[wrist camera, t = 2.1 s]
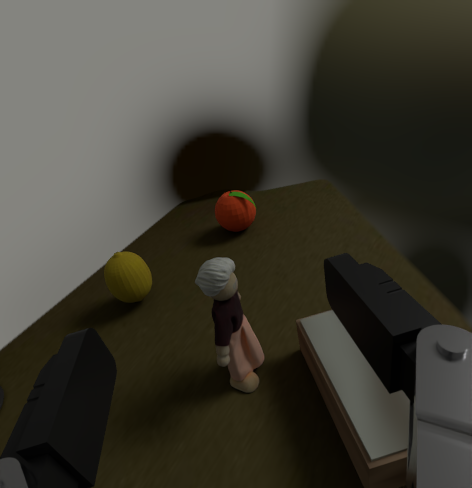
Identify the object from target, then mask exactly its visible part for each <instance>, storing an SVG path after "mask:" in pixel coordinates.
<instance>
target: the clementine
mask: <svg viewBox="0 0 472 488" xmlns="http://www.w3.org/2000/svg"><path fill="white" fill-rule="evenodd" d="M255 207H256V206H255V204H254V202H253V200H252V199H251V197H250V196H248V195H247V194H246V193H244V192H241V191H237V190H234V191H229V192H226V193H225V194H223V195H222V196H221V197H220V198H219V200H218V201H217V204H216V207H215V215H216V219H217V221H218V222H219V224H220V225H221V226H222V227H223V228H225V229H227V230H229V231H233V232H238V231H242V230H244V229H246V228H247V227H249V226H250V225H251V224H252V222H253V220H254V218H255V214H256V208H255Z"/></svg>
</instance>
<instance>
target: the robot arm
mask: <svg viewBox="0 0 472 488" xmlns="http://www.w3.org/2000/svg"><path fill="white" fill-rule="evenodd" d="M324 272H325V282H326V293H327V298H328V301H329V304H330V306H331V308H332V310H333V312H334V313H335V315H336V316H337V317H338V319H339V320H340V322H341V323H342V325H343V326H344V328H345V329H346V331H347V332H348V334H349V335H350V337H351V338H352V340H353V341H354V342H355V344H356V345H357V347H358V348H359V350H360V351H361V353H362V354H363V356H364V357H365V359H366V360H367V362H368V363H369V364H370V366H371V367H372V369H373V370H374V372H375V373H376V375H377V376H378V378H379V379H380V381H381V382H382V384H383V385H384V387H385V388H386V389H387V391H388V392H389V394H391V393H394V392H398V391H401V390H403V392H404V393H405V395H406V396H407V397H408V399H409V418H408V447H407V474H406V488H472V333H470V332H468V331H466V330H464V329H461V328H458V327H455V326H450V325H442V324H441V323H439V322H438V321H437V320H436V319H435V318H434V317H433V316H432V315H431V314H430V313H429V312H427V311H426V310H425V309H424V308H423V307H422V306H421V305H420V304H419V303H418V302H417V301H416V300H414V299H413V298H412V297H411V296H410V295H409V294H408V293H407V292H406V291H405V290H402V288H401V287H400V286H399V285H398V284H397V283H396V282H395V281H394V282H393V279H392V278H391V277H389V276H388V275H387V274H386V273H385V272H384V271H383V270H382V269H380V268H377V267H375V266H373V265H371V264H369V263H364V264H360V265H359V264H358V263H357V262H356V261H355V260H354V259H353V258H352V257H351V256H350V255H349V254H348V253H344V254H341V255H337V256H334V257H331V258H327V259H325V260H324ZM116 373H117V370H116V363H115V360H114V358H113V356H112V354H111V353H110V351H109V350H108V348H107V347H106V345H105V344H104V342H103V341H102V339H101V338H100V336H99V335H98V333H97V332H96V330H95V329H93V328H88V329H85V330H81V331H78V332H75V333H71V334H68V335H66V337H65V338H64V340H63V342H62V345H61V347H60V349H59V352H58V354H56V355H53V356H52V358H51V359H50V360H49V361H48V362H47V364H46V365H45V366H44V367H43V369H42V370H41V371H40V373H39V375H38V378H37V380H36V382H35V384H34V386H33V387H34V389H33V390H32V391H31V393H30V395H29V397H28V399H27V403H26V404H25V406H24V408H23V410H22V412H21V414H20V416H19V419H18V421H17V423H16V425H15V427H14V429H13V431H12V434H11V436H10V438H9V440H8V442H7V444H6V447H5V449H4V451H3V453H2V455H1V457H0V488H91V487H94V484H95V479H96V474H97V469H98V464H99V459H100V455H101V450H102V445H103V440H104V435H105V430H106V425H107V420H108V415H109V410H110V405H111V400H112V395H113V390H114V385H115V380H116ZM3 399H4V392H3V389H2V388H1V386H0V408H1V406H2V404H3Z"/></svg>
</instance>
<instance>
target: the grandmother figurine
mask: <svg viewBox="0 0 472 488" xmlns="http://www.w3.org/2000/svg"><path fill="white" fill-rule="evenodd" d="M234 270H235V265H234V262H233V261H232V260H231V259H229V258H214V259H212V260H208V261H206V262H205V263H204V264H203V265H202V266H201V268H200V269H199V273H198V276H197V278H196V280H195V283H196V284H197V285H199V286H200V289H202V291H203V292H204V294H205V295H207V296H210V297H211V298H213V299H214V303H213V308H212V317H213V321H214V323H215V345H216V352H217V355H218V356H217V363H218V365H219V366H221V367H225V366H227V365H228V369H229V372H230V375H231V378H230V385H231V386H232V387H234V388H236V389H238V390H241V391H243V392H246V393H249V392H253V391H255V390H256V388H257V387H258V384H259V378H258V376H257V374H255V373H254V372H253V369H255V368H257V367H259V366H260V365H261V364H262V363H263V361H264V353H263V351H262V348H261V346H260V344H259V342H258V340H257V338H256V336H255V334H254V332H253V331H252V329H251V327H250V324H249V323H248V321H247V319H246V317H245V316H244V314H243V311H242V308H241V304H240V299H241V296H240V294H239V293H238V291H237V287H238V282H237V278H236V276H235V274H234V273H233V271H234Z"/></svg>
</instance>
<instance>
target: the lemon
mask: <svg viewBox="0 0 472 488" xmlns="http://www.w3.org/2000/svg"><path fill="white" fill-rule="evenodd" d="M104 276H105V281H106V284H107V287H108V289H109V290H110V292H111V293H112V294H113V295H114V296H115V297H116V298H117V299H119V300H121V301H123V302H127V303H133V302H137V301H142V299H143V298H144V297H145V296H146V295H147V294H148V293H149V291H150V289H151V286H152V276H151V272H150V270H149V268H148V266H147V265H146V263H145V262H144V261H143V259H142V258H141V257H139V256H138V255H136V254H134V253H131V252H116V253H114V255H113V256H112V257H111V258H110V259H109V260H108V262H107V263H106V266H105V269H104Z"/></svg>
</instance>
